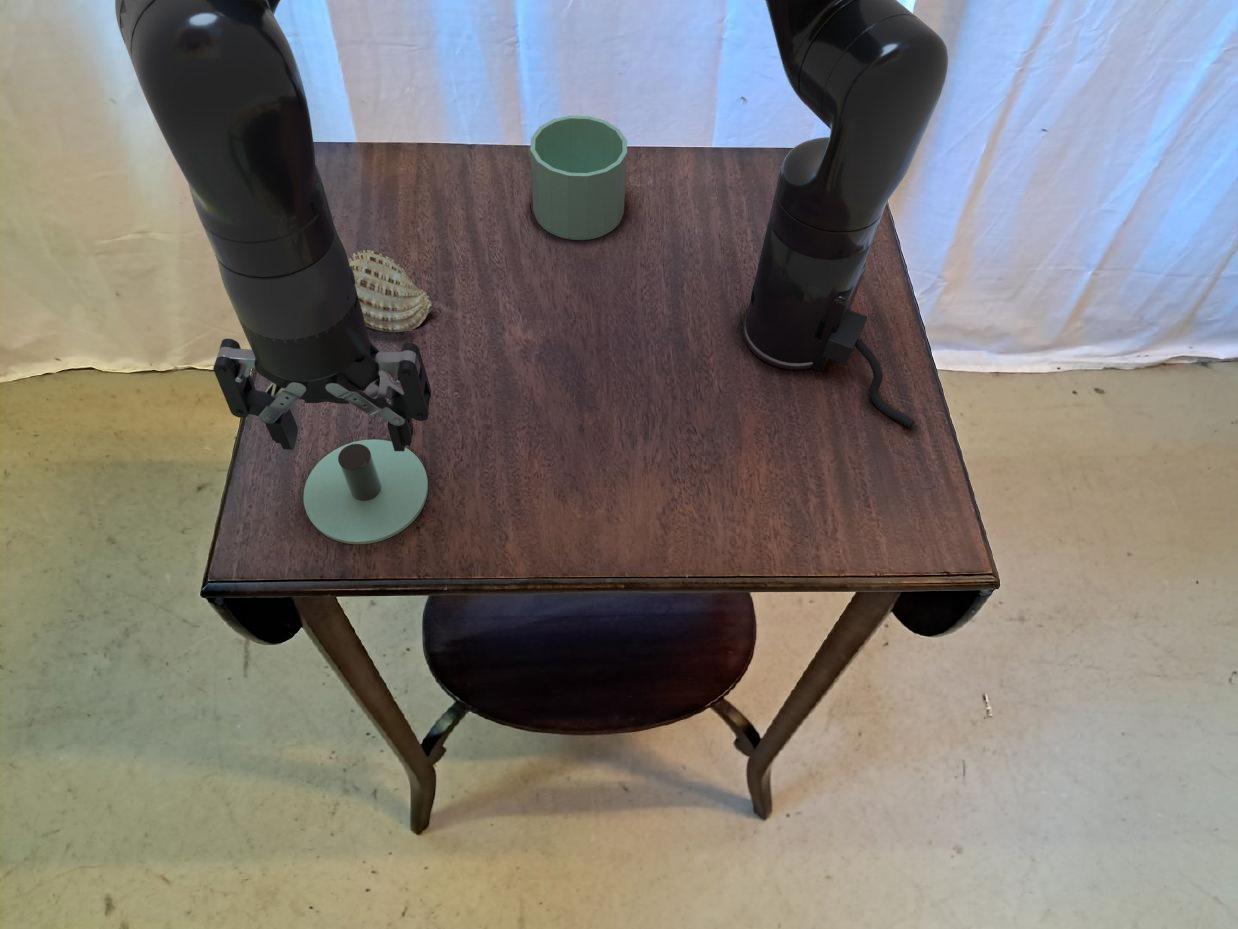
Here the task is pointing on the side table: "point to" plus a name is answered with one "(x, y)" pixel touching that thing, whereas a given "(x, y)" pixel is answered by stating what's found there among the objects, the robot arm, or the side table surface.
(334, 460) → the lid
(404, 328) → the seashell
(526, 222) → the side table surface
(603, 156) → the pot
